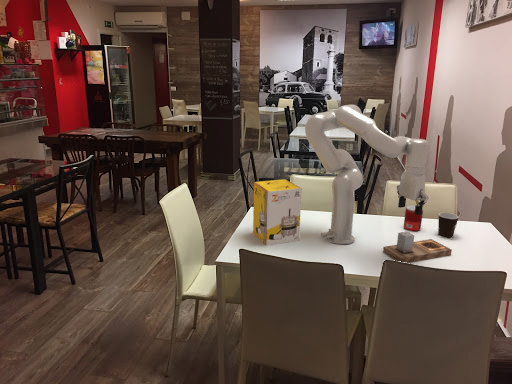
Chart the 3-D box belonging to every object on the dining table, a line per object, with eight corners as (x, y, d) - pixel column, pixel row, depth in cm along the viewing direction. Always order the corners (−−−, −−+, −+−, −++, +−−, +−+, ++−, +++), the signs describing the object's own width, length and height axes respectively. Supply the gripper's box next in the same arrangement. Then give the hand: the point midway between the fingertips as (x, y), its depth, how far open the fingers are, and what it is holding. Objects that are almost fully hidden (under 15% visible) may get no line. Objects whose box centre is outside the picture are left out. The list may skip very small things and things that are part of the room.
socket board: (401, 264, 169) (402, 257, 168) (382, 252, 180) (383, 246, 179) (450, 254, 178) (451, 248, 177) (430, 244, 188) (431, 238, 188)
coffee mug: (446, 240, 193) (450, 220, 190) (431, 233, 200) (434, 214, 198) (463, 235, 198) (466, 216, 195) (448, 229, 206) (451, 210, 203)
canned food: (422, 231, 203) (425, 210, 199) (406, 231, 203) (409, 210, 200) (417, 226, 210) (420, 205, 207) (401, 225, 210) (403, 205, 207)
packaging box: (266, 245, 184) (267, 191, 177) (253, 232, 199) (253, 182, 191) (299, 240, 190) (301, 188, 183) (283, 228, 205) (285, 179, 197)
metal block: (402, 258, 173) (405, 236, 171) (395, 254, 177) (398, 232, 175) (411, 257, 175) (414, 235, 172) (404, 253, 179) (407, 231, 176)
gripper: (392, 166, 172) (388, 205, 177) (422, 176, 156) (417, 218, 161) (407, 164, 175) (402, 203, 179) (438, 174, 159) (432, 216, 164)
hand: (409, 210), depth 170 cm, fingers open, 9 cm apart
